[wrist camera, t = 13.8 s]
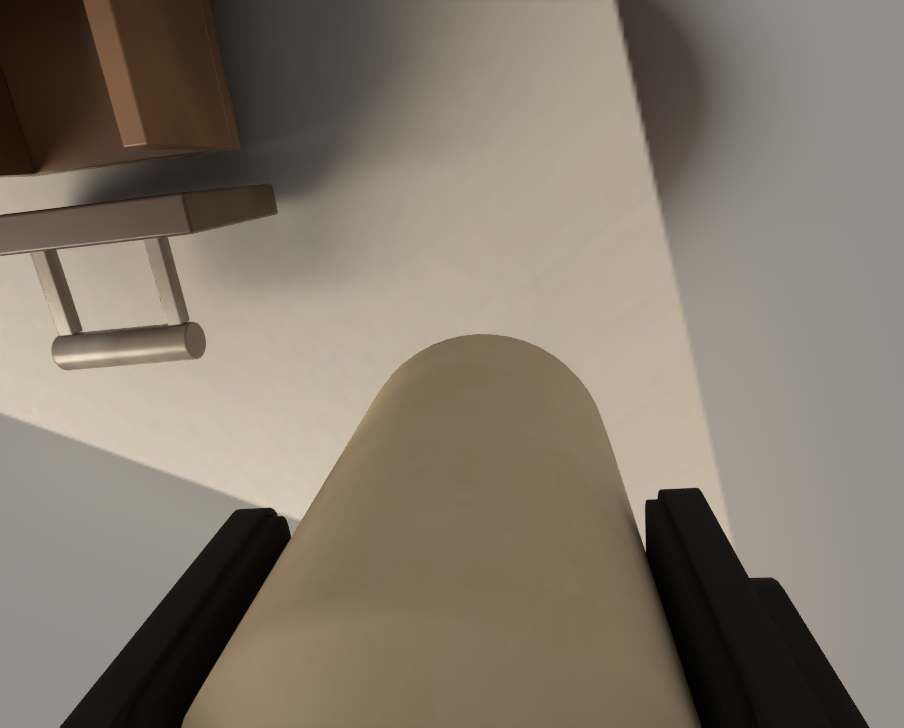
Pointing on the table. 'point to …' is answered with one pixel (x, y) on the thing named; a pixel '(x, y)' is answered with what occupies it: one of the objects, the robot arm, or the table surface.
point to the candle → (461, 569)
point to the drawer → (116, 149)
